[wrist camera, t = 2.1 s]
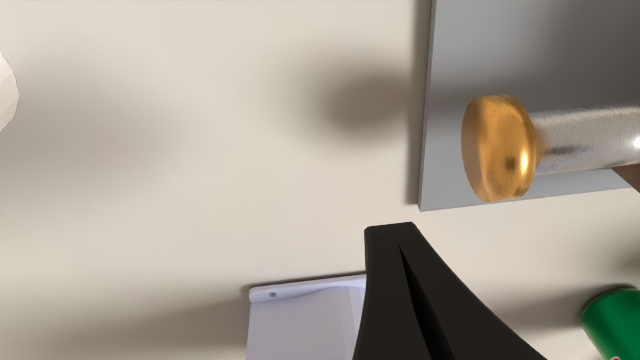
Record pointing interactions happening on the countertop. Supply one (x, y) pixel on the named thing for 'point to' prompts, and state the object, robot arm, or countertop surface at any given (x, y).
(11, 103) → the white cup
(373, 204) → the countertop surface
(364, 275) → the robot arm
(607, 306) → the soda can
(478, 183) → the shaft
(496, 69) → the base plate
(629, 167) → the bearing block
